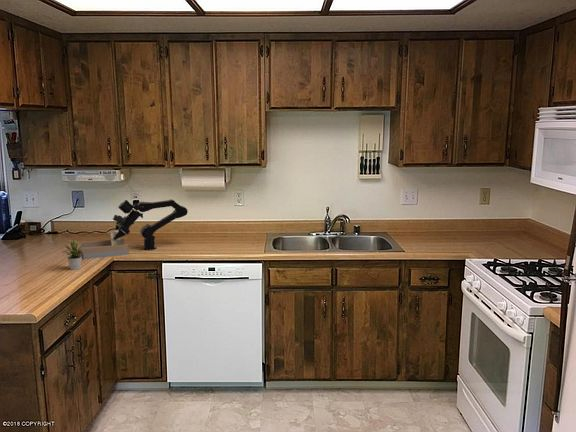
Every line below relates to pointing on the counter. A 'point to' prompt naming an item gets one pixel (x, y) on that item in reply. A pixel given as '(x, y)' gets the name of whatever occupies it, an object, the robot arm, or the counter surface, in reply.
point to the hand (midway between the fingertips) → (113, 237)
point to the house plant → (74, 256)
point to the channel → (103, 249)
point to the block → (113, 242)
